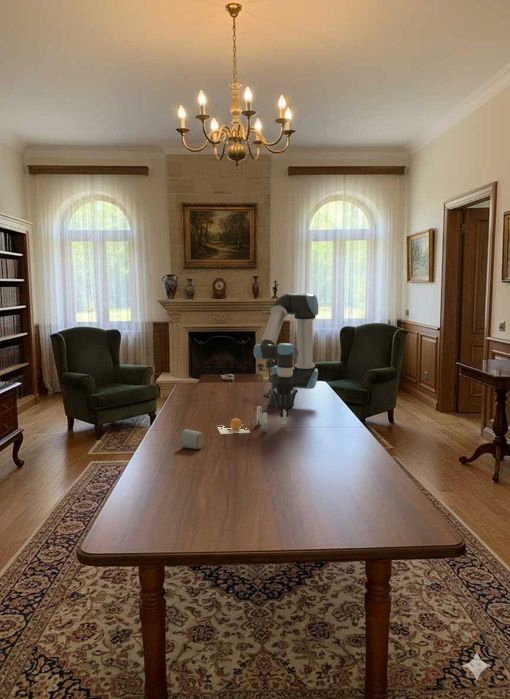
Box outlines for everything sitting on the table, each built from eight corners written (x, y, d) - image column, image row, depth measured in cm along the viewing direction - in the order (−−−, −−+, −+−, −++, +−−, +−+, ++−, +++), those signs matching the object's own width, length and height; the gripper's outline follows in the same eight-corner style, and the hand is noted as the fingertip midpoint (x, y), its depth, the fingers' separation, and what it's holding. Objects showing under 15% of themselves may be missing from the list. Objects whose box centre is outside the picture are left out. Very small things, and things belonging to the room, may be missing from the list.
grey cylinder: (197, 451, 206) (197, 433, 205) (179, 449, 209) (179, 431, 208) (208, 444, 216) (208, 427, 215) (191, 442, 219) (191, 425, 218)
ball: (227, 420, 240) (232, 430, 241) (229, 422, 235) (234, 433, 236) (237, 415, 241) (242, 425, 242) (239, 417, 236) (244, 427, 237)
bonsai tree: (252, 391, 330) (253, 343, 326) (289, 391, 330) (290, 343, 326) (252, 403, 295) (253, 349, 291) (293, 403, 295) (295, 350, 292)
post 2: (266, 430, 238) (267, 412, 236) (267, 432, 235) (268, 413, 234) (261, 431, 237) (261, 412, 236) (262, 432, 235) (263, 413, 233)
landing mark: (244, 424, 247) (244, 424, 247) (250, 432, 234) (250, 432, 234) (216, 426, 245) (216, 425, 245) (220, 434, 231) (220, 433, 231)
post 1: (260, 423, 250) (261, 406, 249) (262, 425, 247) (262, 407, 246) (256, 424, 249) (256, 406, 248) (257, 425, 247) (257, 407, 246)
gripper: (295, 373, 246) (294, 420, 249) (269, 374, 244) (269, 421, 246) (300, 376, 239) (299, 424, 242) (273, 377, 236) (272, 426, 239)
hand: (283, 423), depth 244 cm, fingers closed
